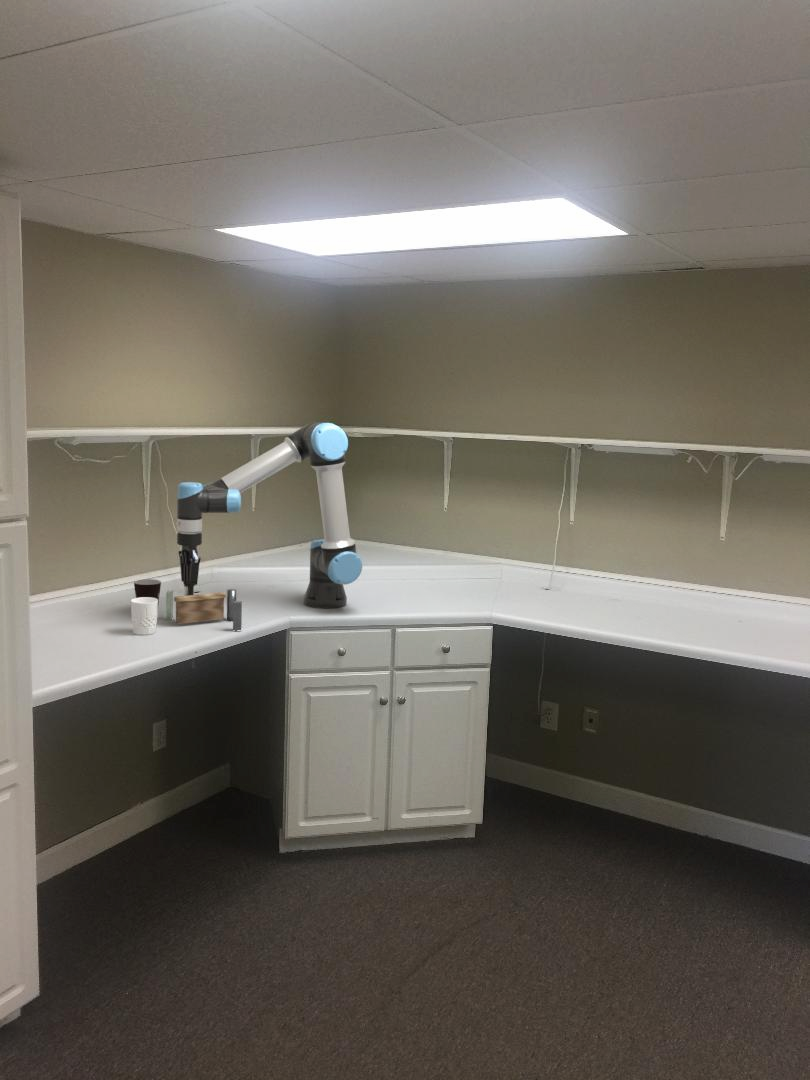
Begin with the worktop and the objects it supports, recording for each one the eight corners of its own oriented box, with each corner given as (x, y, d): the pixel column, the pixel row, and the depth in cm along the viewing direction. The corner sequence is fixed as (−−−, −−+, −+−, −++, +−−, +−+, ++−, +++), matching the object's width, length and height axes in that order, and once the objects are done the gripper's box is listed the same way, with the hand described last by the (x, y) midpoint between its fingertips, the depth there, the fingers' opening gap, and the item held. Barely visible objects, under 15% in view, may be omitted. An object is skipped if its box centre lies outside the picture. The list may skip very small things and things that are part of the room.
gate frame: (245, 619, 281) (246, 589, 280) (240, 631, 267) (241, 599, 265) (167, 617, 279) (168, 587, 277) (158, 629, 264) (158, 597, 263)
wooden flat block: (222, 617, 279) (222, 592, 277) (225, 618, 277) (225, 593, 275) (174, 622, 270) (174, 596, 269) (176, 624, 268) (176, 598, 267)
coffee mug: (153, 615, 281) (153, 585, 279) (129, 613, 282) (128, 583, 281) (169, 607, 292) (169, 578, 290) (146, 605, 294) (146, 576, 292)
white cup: (132, 636, 256) (132, 603, 254) (129, 629, 263) (129, 597, 261) (159, 634, 259) (159, 602, 257) (156, 628, 266) (156, 596, 264)
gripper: (170, 529, 273) (170, 602, 277) (185, 535, 263) (185, 611, 266) (193, 528, 277) (193, 600, 281) (208, 534, 267) (208, 608, 271)
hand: (189, 605), depth 274 cm, fingers closed
